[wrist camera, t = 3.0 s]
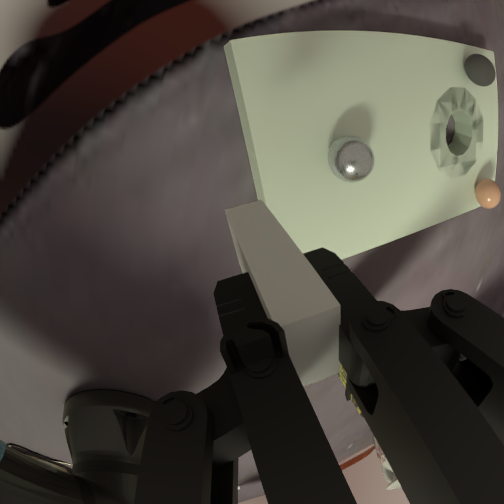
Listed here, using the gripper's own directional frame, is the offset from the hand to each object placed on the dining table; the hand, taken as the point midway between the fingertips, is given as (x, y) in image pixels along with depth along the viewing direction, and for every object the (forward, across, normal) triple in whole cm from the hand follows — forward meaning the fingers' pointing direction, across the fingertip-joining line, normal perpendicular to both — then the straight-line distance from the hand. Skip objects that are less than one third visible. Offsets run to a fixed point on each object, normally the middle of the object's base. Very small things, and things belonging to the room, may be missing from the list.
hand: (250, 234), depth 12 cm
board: (+11, +16, 0) cm, 20 cm away
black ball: (+7, +24, +6) cm, 26 cm away
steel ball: (+7, +8, 0) cm, 11 cm away
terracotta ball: (+7, +26, -7) cm, 28 cm away
